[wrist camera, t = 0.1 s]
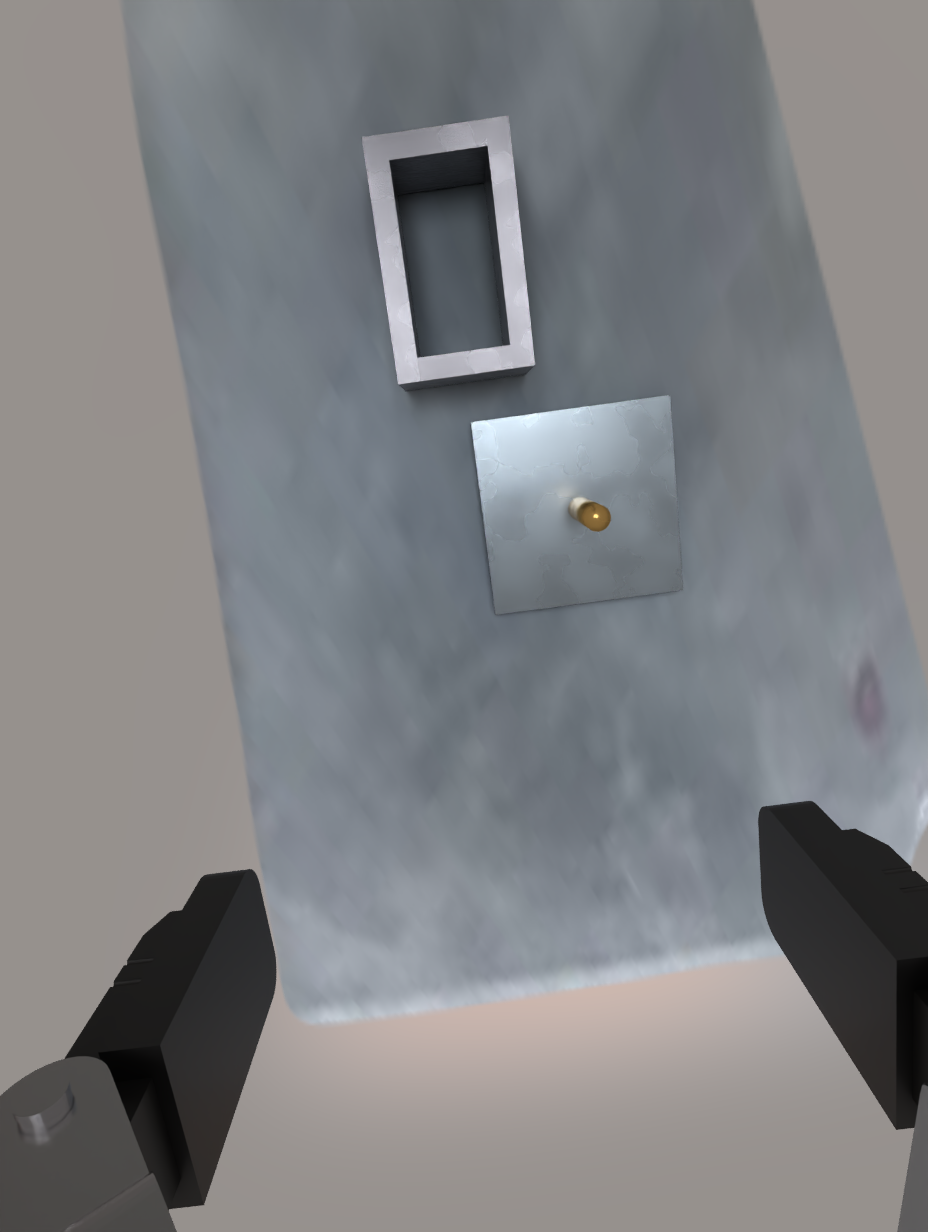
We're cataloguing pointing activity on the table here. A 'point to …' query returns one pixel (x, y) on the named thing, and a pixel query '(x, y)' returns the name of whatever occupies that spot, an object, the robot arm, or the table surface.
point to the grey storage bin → (489, 159)
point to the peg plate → (579, 504)
